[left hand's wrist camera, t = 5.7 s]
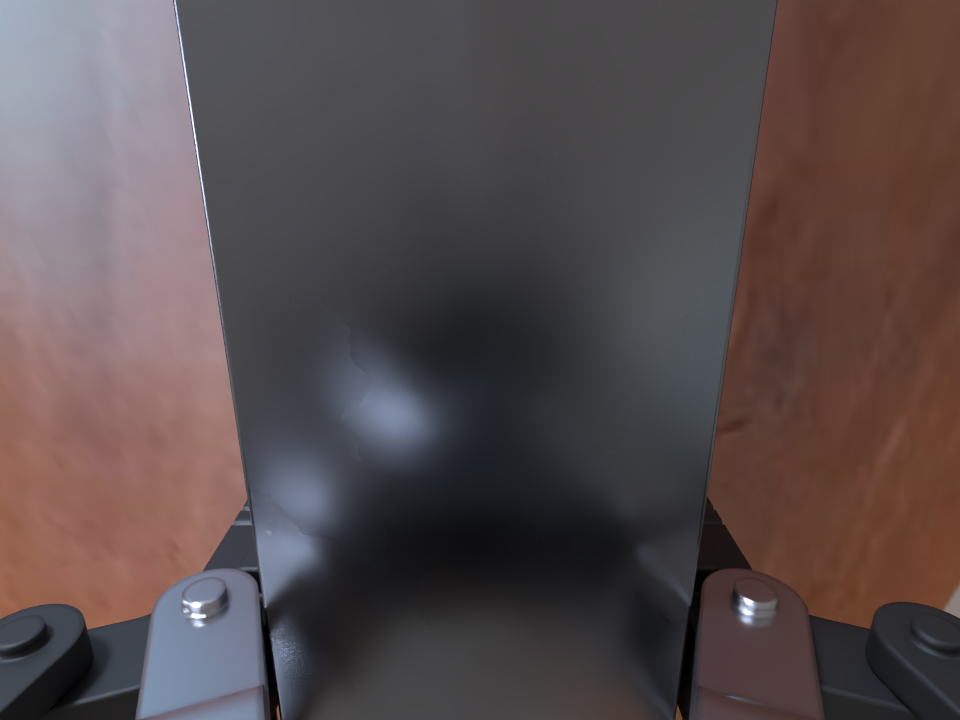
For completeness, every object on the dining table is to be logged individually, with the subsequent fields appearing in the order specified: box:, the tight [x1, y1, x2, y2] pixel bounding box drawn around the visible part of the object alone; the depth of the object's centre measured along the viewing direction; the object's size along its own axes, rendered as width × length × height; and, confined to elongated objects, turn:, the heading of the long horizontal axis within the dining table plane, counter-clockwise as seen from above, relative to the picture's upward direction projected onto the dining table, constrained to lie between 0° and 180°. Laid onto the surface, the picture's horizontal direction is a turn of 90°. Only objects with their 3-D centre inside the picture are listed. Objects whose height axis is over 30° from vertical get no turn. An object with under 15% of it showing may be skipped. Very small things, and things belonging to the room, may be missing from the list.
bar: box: [173, 0, 777, 720], centre depth 9 cm, size 25×5×9 cm, turn 0°
